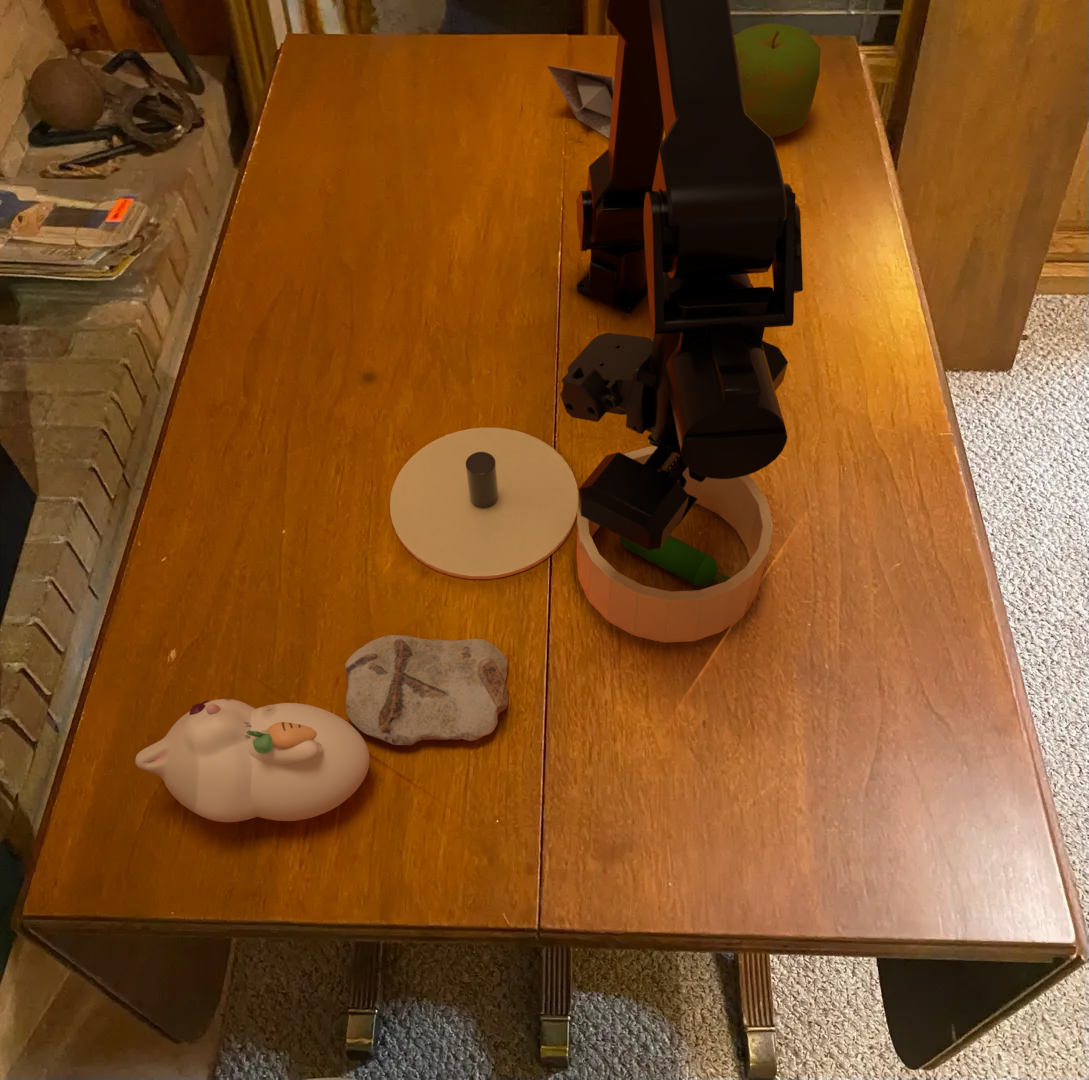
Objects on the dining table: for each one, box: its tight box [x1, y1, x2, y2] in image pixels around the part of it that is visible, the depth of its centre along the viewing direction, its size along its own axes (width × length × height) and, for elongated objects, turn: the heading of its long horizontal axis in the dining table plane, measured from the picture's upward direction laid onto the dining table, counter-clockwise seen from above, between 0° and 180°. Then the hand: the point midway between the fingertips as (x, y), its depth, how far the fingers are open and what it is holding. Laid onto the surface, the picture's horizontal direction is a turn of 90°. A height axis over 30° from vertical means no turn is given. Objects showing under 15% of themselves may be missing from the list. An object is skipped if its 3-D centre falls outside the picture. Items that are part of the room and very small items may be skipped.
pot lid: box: [389, 426, 579, 580], centre depth 84 cm, size 16×16×6 cm
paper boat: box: [546, 65, 614, 139], centre depth 116 cm, size 12×6×9 cm
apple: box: [734, 23, 821, 139], centre depth 114 cm, size 11×11×11 cm
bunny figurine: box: [134, 698, 371, 823], centre depth 69 cm, size 10×8×15 cm
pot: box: [576, 445, 774, 643], centre depth 80 cm, size 15×15×6 cm
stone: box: [344, 634, 510, 746], centre depth 74 cm, size 12×9×3 cm
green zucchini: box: [619, 535, 731, 588], centre depth 81 cm, size 10×3×3 cm, turn 56°
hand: (676, 505), depth 76 cm, fingers open, 6 cm apart
